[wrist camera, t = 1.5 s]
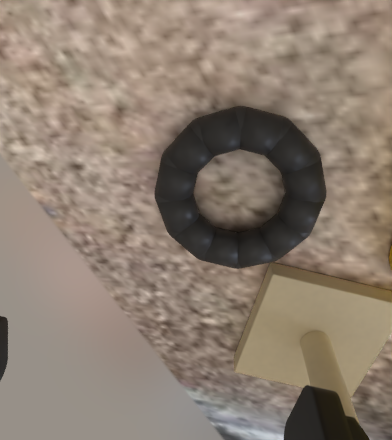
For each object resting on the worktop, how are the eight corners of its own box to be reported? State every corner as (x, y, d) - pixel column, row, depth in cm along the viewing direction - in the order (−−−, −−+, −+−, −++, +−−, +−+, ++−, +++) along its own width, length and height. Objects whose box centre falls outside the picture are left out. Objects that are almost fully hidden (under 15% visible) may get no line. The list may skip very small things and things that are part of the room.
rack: (270, 261, 25) (319, 508, 12) (399, 292, 25) (587, 566, 12) (233, 356, 29) (239, 620, 16) (345, 382, 29) (442, 662, 16)
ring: (177, 86, 20) (172, 91, 18) (345, 129, 21) (358, 138, 19) (147, 235, 24) (140, 252, 23) (287, 269, 25) (293, 289, 23)
